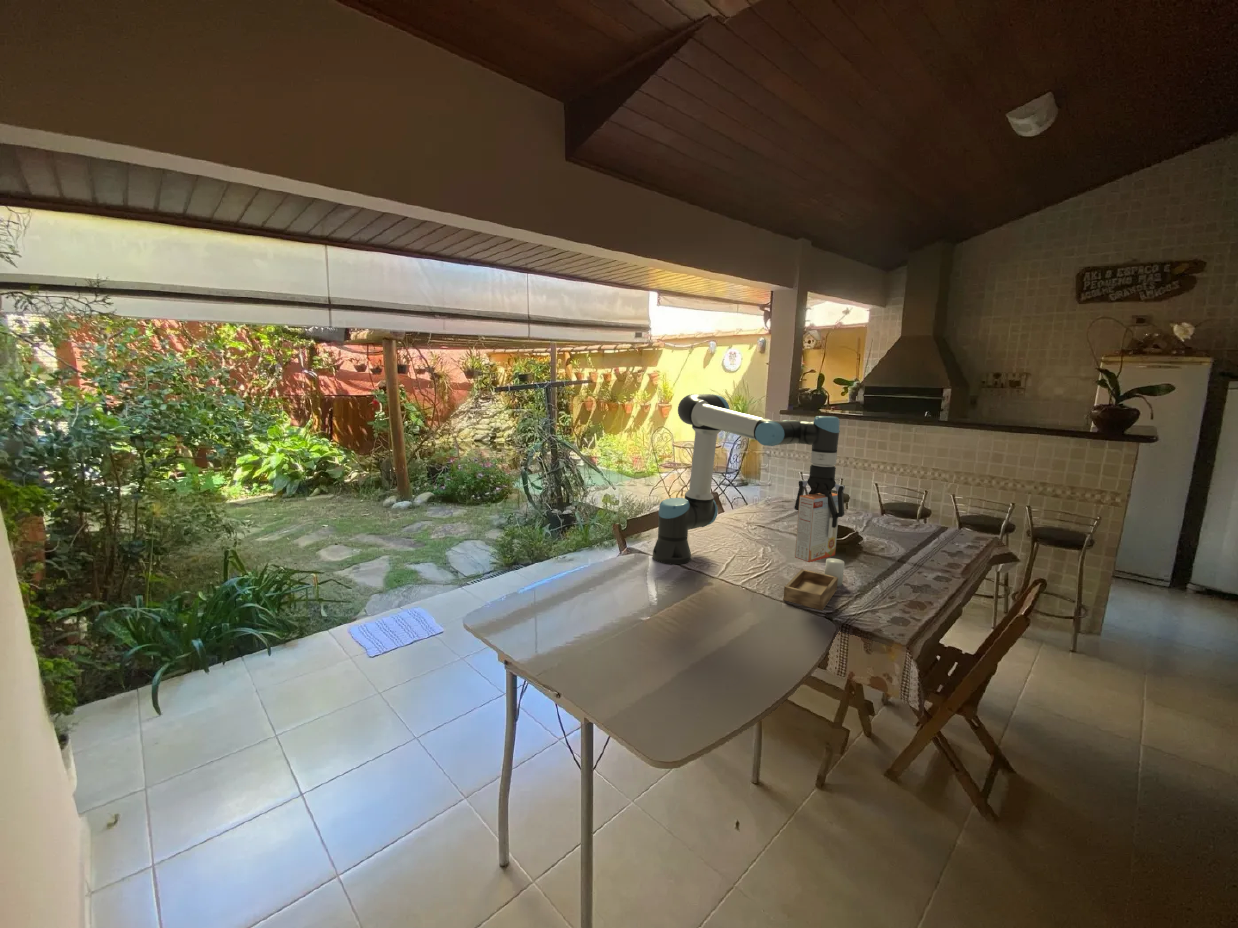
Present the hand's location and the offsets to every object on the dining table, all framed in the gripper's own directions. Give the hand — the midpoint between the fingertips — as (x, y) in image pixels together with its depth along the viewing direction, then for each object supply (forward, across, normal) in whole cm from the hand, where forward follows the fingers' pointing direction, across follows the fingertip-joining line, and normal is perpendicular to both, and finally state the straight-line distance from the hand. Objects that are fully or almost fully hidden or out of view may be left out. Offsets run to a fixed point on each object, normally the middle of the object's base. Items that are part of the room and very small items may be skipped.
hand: (816, 534), depth 158 cm
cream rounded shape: (+21, +3, +16) cm, 27 cm away
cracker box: (+8, 0, 0) cm, 8 cm away
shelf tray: (+21, 0, 0) cm, 21 cm away
